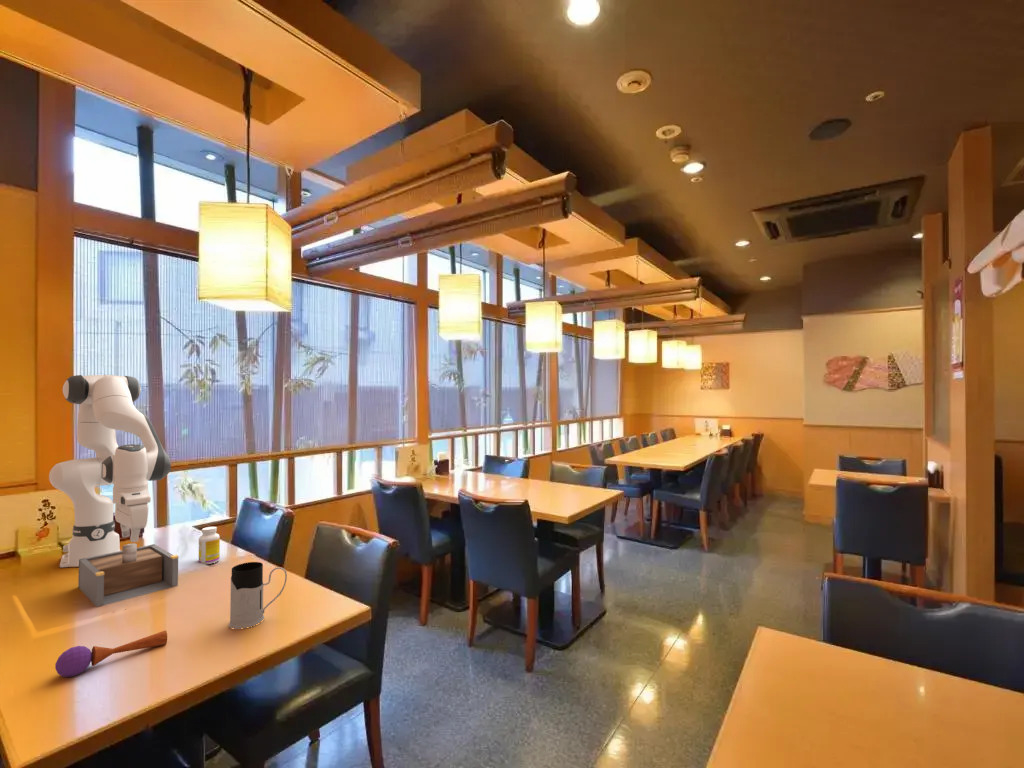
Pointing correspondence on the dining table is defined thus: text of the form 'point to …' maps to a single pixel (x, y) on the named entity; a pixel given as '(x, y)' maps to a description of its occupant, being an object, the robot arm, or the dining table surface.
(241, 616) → the glass holder
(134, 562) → the wooden block with knob
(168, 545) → the dining table surface
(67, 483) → the robot arm
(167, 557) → the bay
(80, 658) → the purple maraca
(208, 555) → the supplement bottle
